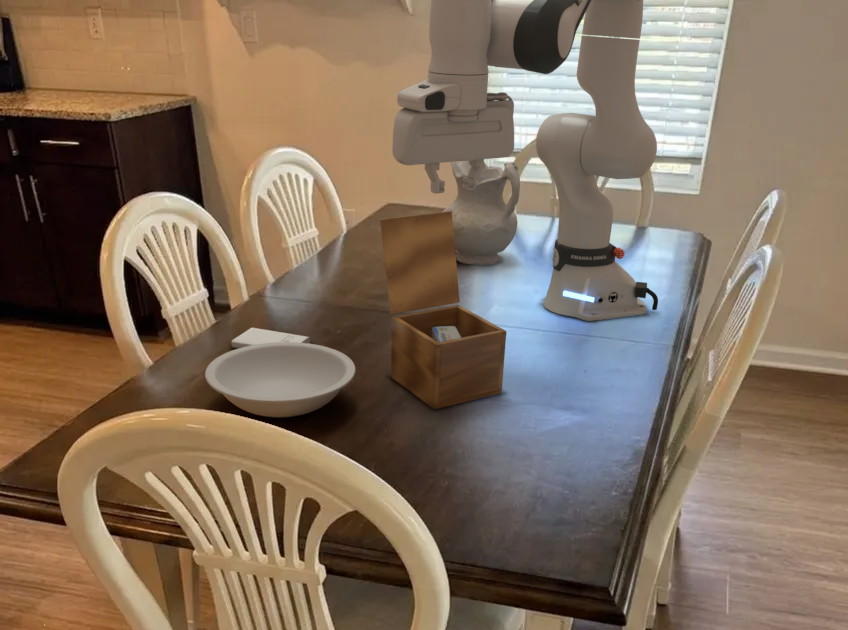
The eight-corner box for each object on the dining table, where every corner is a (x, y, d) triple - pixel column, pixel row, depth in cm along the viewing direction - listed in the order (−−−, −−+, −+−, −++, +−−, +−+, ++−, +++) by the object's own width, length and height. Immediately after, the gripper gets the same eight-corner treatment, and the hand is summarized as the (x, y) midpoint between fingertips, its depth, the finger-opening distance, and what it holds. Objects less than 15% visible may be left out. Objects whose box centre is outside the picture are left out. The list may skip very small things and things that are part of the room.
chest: (501, 393, 148) (506, 330, 142) (434, 409, 141) (436, 344, 135) (455, 363, 158) (458, 304, 152) (391, 377, 152) (391, 316, 146)
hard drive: (253, 334, 168) (310, 343, 165) (232, 348, 161) (290, 358, 158) (252, 326, 167) (309, 335, 164) (231, 340, 161) (290, 350, 157)
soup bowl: (292, 454, 127) (290, 414, 123) (177, 413, 137) (172, 375, 134) (384, 398, 144) (384, 362, 141) (276, 366, 155) (273, 331, 151)
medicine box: (462, 389, 146) (465, 341, 142) (437, 390, 146) (438, 342, 141) (454, 371, 153) (456, 325, 149) (429, 372, 152) (431, 326, 148)
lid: (452, 211, 147) (449, 211, 147) (381, 219, 140) (379, 219, 141) (459, 302, 152) (457, 302, 152) (392, 314, 145) (390, 313, 146)
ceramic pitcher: (534, 263, 220) (546, 161, 208) (498, 275, 205) (510, 166, 193) (462, 249, 230) (470, 151, 218) (423, 260, 215) (430, 155, 203)
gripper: (502, 89, 133) (496, 181, 140) (387, 93, 123) (387, 192, 130) (526, 94, 128) (519, 189, 135) (409, 99, 119) (407, 201, 126)
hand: (453, 191), depth 133 cm, fingers open, 4 cm apart
